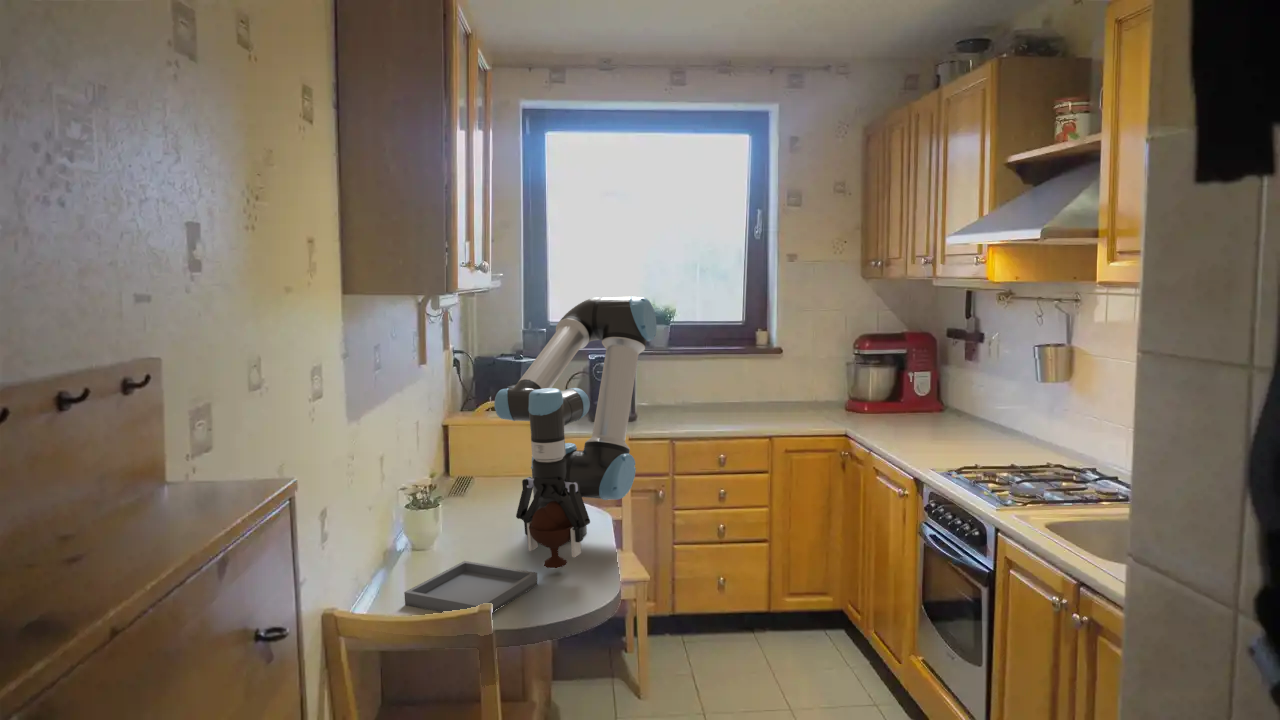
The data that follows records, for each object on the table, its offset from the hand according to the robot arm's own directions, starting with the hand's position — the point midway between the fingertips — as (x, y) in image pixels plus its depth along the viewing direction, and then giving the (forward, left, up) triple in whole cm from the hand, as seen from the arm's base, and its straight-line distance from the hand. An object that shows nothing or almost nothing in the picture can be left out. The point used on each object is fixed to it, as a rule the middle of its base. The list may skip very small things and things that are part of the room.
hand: (554, 552), depth 198 cm
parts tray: (+17, -10, -5) cm, 21 cm away
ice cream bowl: (0, 0, -3) cm, 3 cm away
